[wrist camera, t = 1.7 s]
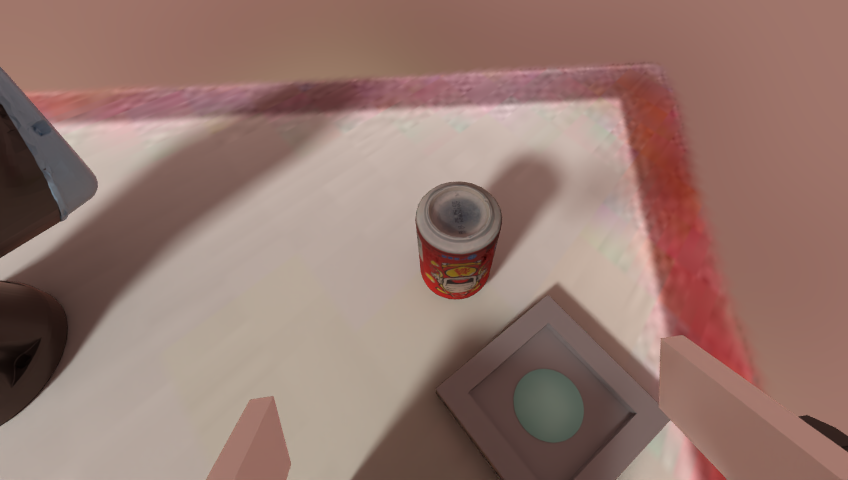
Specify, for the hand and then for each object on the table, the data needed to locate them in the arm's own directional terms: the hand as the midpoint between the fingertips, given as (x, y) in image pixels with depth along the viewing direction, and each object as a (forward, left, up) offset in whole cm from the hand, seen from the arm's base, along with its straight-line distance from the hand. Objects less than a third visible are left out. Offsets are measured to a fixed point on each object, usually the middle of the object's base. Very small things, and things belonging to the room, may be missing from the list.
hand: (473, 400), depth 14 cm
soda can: (-12, +10, -25) cm, 29 cm away
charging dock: (+3, +8, -25) cm, 26 cm away
